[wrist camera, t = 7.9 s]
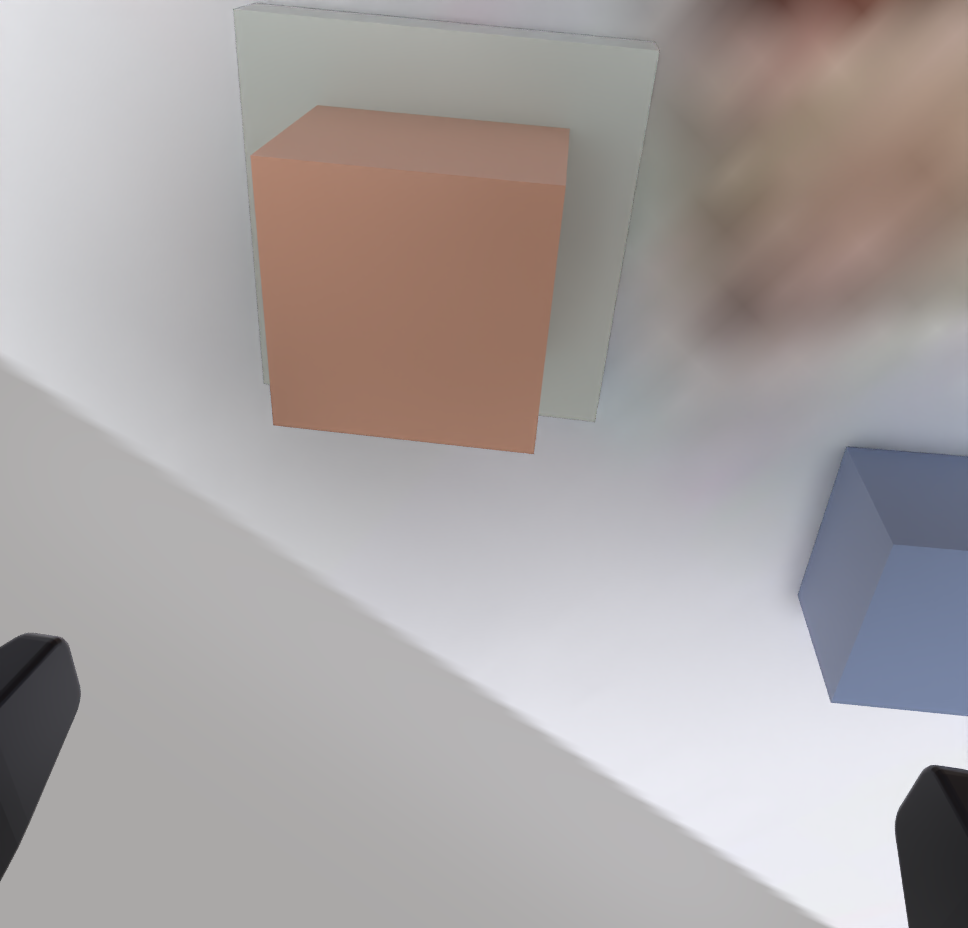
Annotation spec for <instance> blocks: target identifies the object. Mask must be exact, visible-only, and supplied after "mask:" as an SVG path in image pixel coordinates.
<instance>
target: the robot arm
mask: <svg viewBox="0 0 968 928" xmlns="http://www.w3.org/2000/svg"><path fill="white" fill-rule="evenodd" d="M80 692H81V691H80V685H79V681H78V677H77V673H76V670H75V666H74V662H73V659H72V655H71V651H70V648H69V645H68V643H67V642H66V641H65V640H64V639H63V638H61V637H58V636H51V635H45V634H38V633H26V634H23V635H20V636H18V637H16V638H14V639H12V640H11V641H9V642H7V643H6V644H4V645H3V646H1V647H0V881H1V879H2V877H3V875H4V873H5V872H6V870H7V868H8V866H9V864H10V862H11V860H12V858H13V857H14V854H15V853H16V851H17V849H18V847H19V845H20V843H21V840H22V838H23V836H24V834H25V832H26V829H27V827H28V825H29V823H30V821H31V818H32V816H33V813H34V811H35V809H36V806H37V804H38V802H39V799H40V797H41V795H42V792H43V790H44V787H45V785H46V783H47V780H48V778H49V776H50V774H51V771H52V769H53V767H54V764H55V762H56V759H57V757H58V755H59V752H60V750H61V748H62V745H63V743H64V741H65V738H66V736H67V733H68V731H69V729H70V726H71V724H72V722H73V720H74V717H75V715H76V712H77V710H78V706H79V702H80V695H81V693H80ZM895 836H896V843H897V850H898V857H899V864H900V871H901V877H902V884H903V891H904V898H905V905H906V912H907V919H908V926H909V928H968V770H964V769H959V768H952V767H945V766H939V765H930V766H929V767H927V768H925V769H924V770H923V771H922V772H921V774H920V775H919V777H918V779H917V780H916V782H915V783H914V785H913V787H912V788H911V790H910V791H909V793H908V795H907V796H906V798H905V800H904V801H903V803H902V804H901V806H900V808H899V810H898V812H897V816H896V821H895Z"/></svg>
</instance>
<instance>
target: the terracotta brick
mask: <svg viewBox="0 0 968 928" xmlns="http://www.w3.org/2000/svg"><path fill="white" fill-rule="evenodd" d="M569 133H570V129H568V128H557V127H546V126H536V125H525V124H514V123H503V122H493V121H482V120H471V119H460V118H450V117H439V116H428V115H417V114H407V113H396V112H385V111H374V110H364V109H353V108H342V107H331V106H321V105H317V106H315V107H314V108H313V109H311V110H310V111H309V112H307V113H306V114H305V115H303V116H302V117H301V118H299V119H298V120H297V121H295V122H294V123H293V124H291V125H290V126H289V127H287V128H286V129H285V130H283V131H282V132H281V133H279V134H278V135H277V136H275V137H274V138H273V139H271V140H270V141H269V142H267V143H266V144H265V145H263V146H262V147H261V148H259V149H258V150H257V151H256V152H254V153H253V154H252V155H250V158H251V170H252V181H253V193H254V205H255V216H256V228H257V240H258V251H259V263H260V275H261V286H262V298H263V310H264V321H265V333H266V345H267V356H268V368H269V380H270V392H271V403H272V415H273V425H276V426H285V427H294V428H303V429H312V430H321V431H330V432H339V433H348V434H357V435H366V436H375V437H384V438H393V439H402V440H411V441H420V442H429V443H438V444H447V445H456V446H465V447H474V448H483V449H492V450H501V451H510V452H519V453H528V454H534V448H535V439H536V431H537V423H538V414H539V406H540V398H541V389H542V381H543V373H544V364H545V356H546V348H547V339H548V331H549V323H550V314H551V306H552V298H553V289H554V281H555V272H556V264H557V256H558V247H559V239H560V231H561V222H562V214H563V206H564V197H565V189H566V177H567V162H568V148H569Z"/></svg>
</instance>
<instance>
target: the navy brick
mask: <svg viewBox="0 0 968 928" xmlns="http://www.w3.org/2000/svg"><path fill="white" fill-rule="evenodd" d="M798 598H799V601H800V604H801V607H802V611H803V614H804V617H805V620H806V623H807V627H808V630H809V633H810V636H811V640H812V643H813V646H814V649H815V653H816V656H817V659H818V662H819V666H820V669H821V672H822V675H823V678H824V682H825V685H826V688H827V691H828V695H829V698H830V701H831V703H840V704H851V705H861V706H871V707H881V708H891V709H901V710H911V711H921V712H931V713H941V714H951V715H961V716H968V457H967V456H955V455H943V454H931V453H918V452H906V451H894V450H882V449H869V448H857V447H846V449H845V452H844V455H843V458H842V461H841V464H840V467H839V470H838V473H837V477H836V480H835V483H834V486H833V489H832V492H831V495H830V498H829V501H828V504H827V507H826V510H825V513H824V516H823V519H822V522H821V525H820V529H819V532H818V535H817V538H816V541H815V544H814V547H813V550H812V553H811V556H810V559H809V562H808V565H807V568H806V571H805V574H804V577H803V580H802V584H801V587H800V590H799V593H798Z"/></svg>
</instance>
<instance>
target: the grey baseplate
mask: <svg viewBox="0 0 968 928" xmlns="http://www.w3.org/2000/svg"><path fill="white" fill-rule="evenodd" d="M233 12H234V24H235V36H236V49H237V61H238V73H239V85H240V98H241V110H242V122H243V135H244V147H245V159H246V171H247V184H248V196H249V208H250V220H251V233H252V245H253V257H254V270H255V282H256V294H257V306H258V319H259V331H260V343H261V355H262V368H263V380H264V384H270V380H269V368H268V356H267V345H266V333H265V321H264V310H263V298H262V286H261V275H260V263H259V251H258V240H257V228H256V216H255V205H254V193H253V181H252V170H251V158H250V155H252V154H253V153H254V152H256V151H257V150H258V149H259V148H261V147H262V146H263V145H265V144H266V143H267V142H269V141H270V140H271V139H273V138H274V137H275V136H277V135H278V134H279V133H281V132H282V131H283V130H285V129H286V128H287V127H289V126H290V125H291V124H293V123H294V122H295V121H297V120H298V119H299V118H301V117H302V116H303V115H305V114H306V113H307V112H309V111H310V110H311V109H313V108H314V107H315V106H317V105H321V106H331V107H342V108H353V109H364V110H374V111H385V112H396V113H407V114H417V115H428V116H439V117H450V118H460V119H471V120H482V121H493V122H503V123H514V124H525V125H536V126H546V127H557V128H568V129H570V133H569V148H568V162H567V177H566V189H565V197H564V206H563V214H562V222H561V231H560V239H559V247H558V256H557V264H556V272H555V281H554V289H553V298H552V306H551V314H550V323H549V331H548V339H547V348H546V356H545V364H544V373H543V381H542V389H541V398H540V406H539V414H538V416H547V417H556V418H564V419H573V420H582V421H590V422H595V419H596V414H597V408H598V402H599V396H600V391H601V385H602V379H603V373H604V368H605V362H606V356H607V350H608V345H609V339H610V333H611V327H612V322H613V316H614V310H615V304H616V299H617V293H618V287H619V281H620V276H621V270H622V264H623V258H624V253H625V247H626V241H627V235H628V230H629V224H630V218H631V212H632V207H633V201H634V195H635V189H636V184H637V178H638V172H639V166H640V161H641V155H642V149H643V143H644V138H645V132H646V126H647V120H648V114H649V109H650V103H651V97H652V91H653V86H654V80H655V74H656V68H657V63H658V57H659V49H658V47H657V45H656V43H655V42H652V41H641V40H631V39H621V38H610V37H600V36H590V35H579V34H569V33H559V32H548V31H538V30H528V29H517V28H507V27H497V26H486V25H476V24H466V23H455V22H445V21H435V20H424V19H414V18H404V17H393V16H383V15H373V14H362V13H352V12H342V11H331V10H321V9H311V8H300V7H290V6H280V5H269V4H259V3H252V4H249V5H246V6H243V7H239V8H236V9H233Z"/></svg>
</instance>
